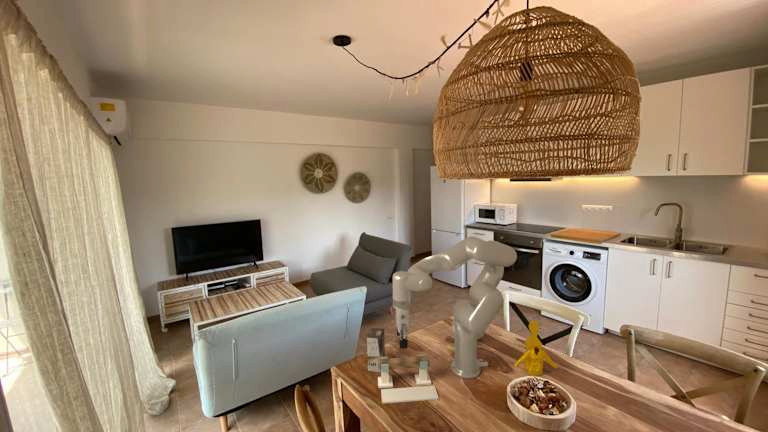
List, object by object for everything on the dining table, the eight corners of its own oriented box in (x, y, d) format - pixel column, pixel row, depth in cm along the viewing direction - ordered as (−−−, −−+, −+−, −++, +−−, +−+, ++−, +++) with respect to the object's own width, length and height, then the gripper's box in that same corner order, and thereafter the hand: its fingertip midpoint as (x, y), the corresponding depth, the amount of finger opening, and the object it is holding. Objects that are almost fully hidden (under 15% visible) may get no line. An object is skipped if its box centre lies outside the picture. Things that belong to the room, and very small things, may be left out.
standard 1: (391, 377, 134) (391, 356, 132) (392, 387, 128) (392, 365, 126) (377, 378, 133) (377, 357, 132) (378, 388, 127) (377, 366, 126)
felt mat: (434, 386, 127) (434, 385, 127) (438, 399, 120) (438, 398, 120) (381, 390, 126) (381, 389, 126) (382, 403, 119) (381, 402, 119)
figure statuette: (515, 376, 132) (517, 327, 129) (510, 364, 140) (511, 318, 137) (559, 377, 131) (562, 328, 127) (551, 366, 138) (554, 319, 135)
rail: (428, 362, 132) (428, 355, 132) (430, 366, 129) (430, 360, 129) (377, 365, 131) (377, 359, 130) (378, 370, 128) (377, 363, 127)
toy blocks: (428, 375, 135) (428, 353, 133) (431, 384, 129) (431, 362, 127) (414, 376, 134) (414, 354, 133) (417, 385, 128) (416, 363, 127)
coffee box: (381, 372, 137) (380, 338, 135) (367, 371, 139) (366, 337, 136) (385, 360, 146) (384, 328, 144) (372, 358, 147) (371, 327, 145)
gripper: (414, 311, 117) (414, 353, 120) (408, 293, 134) (408, 330, 137) (394, 312, 117) (395, 354, 119) (390, 294, 134) (391, 331, 136)
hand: (402, 341), depth 128 cm, fingers open, 9 cm apart
